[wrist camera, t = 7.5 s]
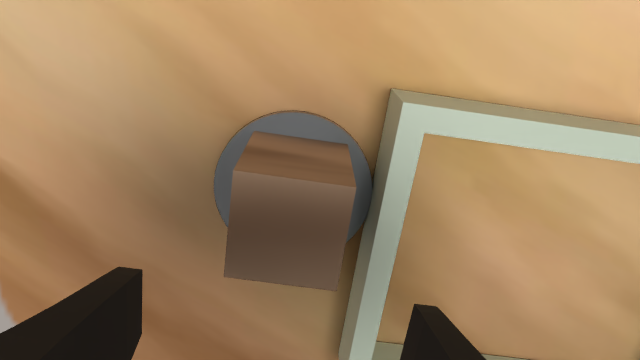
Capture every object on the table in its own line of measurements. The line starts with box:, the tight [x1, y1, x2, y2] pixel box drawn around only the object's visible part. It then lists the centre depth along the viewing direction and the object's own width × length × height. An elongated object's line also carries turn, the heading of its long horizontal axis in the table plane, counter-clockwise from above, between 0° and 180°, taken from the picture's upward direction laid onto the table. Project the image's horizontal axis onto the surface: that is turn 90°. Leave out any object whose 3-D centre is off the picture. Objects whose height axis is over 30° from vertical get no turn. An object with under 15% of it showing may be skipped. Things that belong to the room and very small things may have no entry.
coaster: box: [214, 111, 372, 242], centre depth 21 cm, size 7×7×1 cm
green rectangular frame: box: [338, 88, 640, 360], centre depth 21 cm, size 14×17×3 cm
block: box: [224, 131, 356, 291], centre depth 18 cm, size 4×4×5 cm
